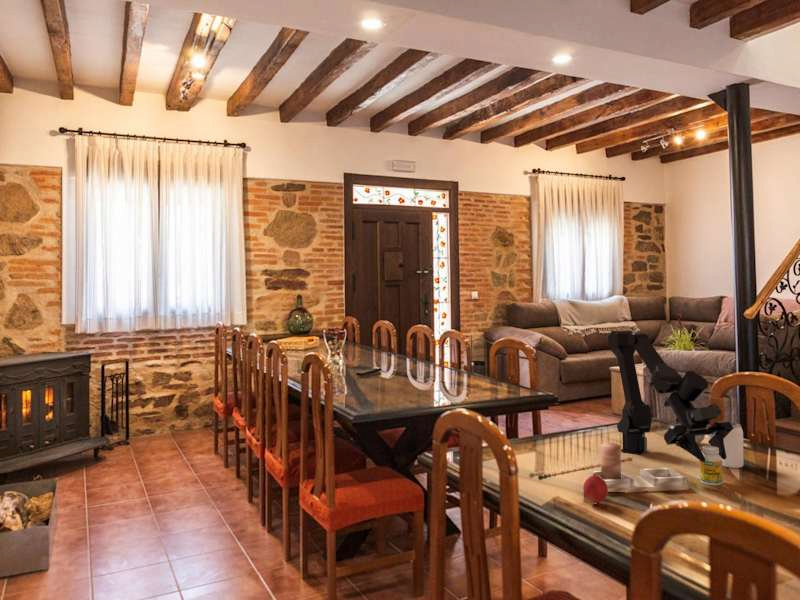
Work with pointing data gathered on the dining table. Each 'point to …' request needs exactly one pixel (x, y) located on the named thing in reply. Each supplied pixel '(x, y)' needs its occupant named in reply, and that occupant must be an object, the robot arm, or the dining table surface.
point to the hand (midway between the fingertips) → (714, 459)
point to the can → (734, 448)
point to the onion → (595, 488)
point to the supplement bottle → (711, 466)
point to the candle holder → (645, 482)
